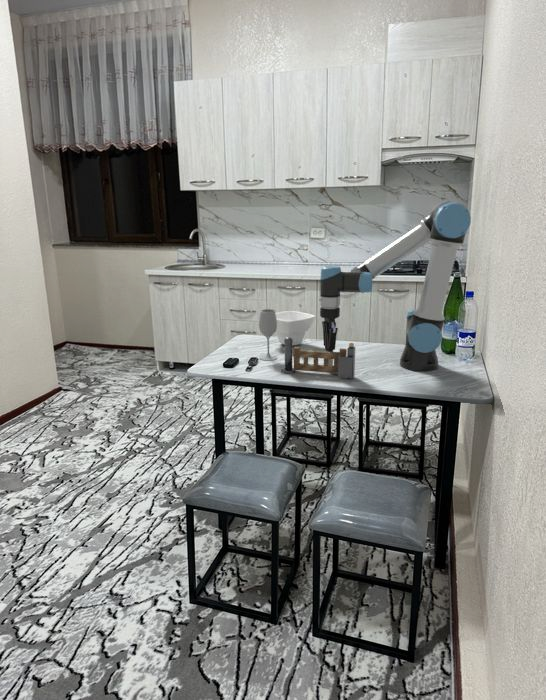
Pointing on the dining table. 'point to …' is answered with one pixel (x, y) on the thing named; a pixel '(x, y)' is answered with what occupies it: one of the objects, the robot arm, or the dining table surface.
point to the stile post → (347, 363)
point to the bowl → (293, 325)
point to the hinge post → (288, 357)
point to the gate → (316, 355)
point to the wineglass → (268, 329)
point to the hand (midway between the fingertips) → (328, 365)
